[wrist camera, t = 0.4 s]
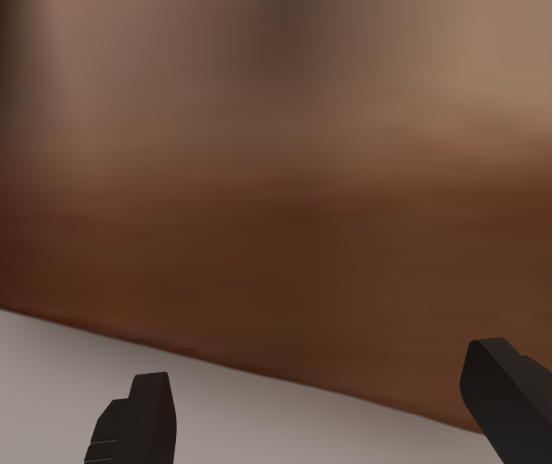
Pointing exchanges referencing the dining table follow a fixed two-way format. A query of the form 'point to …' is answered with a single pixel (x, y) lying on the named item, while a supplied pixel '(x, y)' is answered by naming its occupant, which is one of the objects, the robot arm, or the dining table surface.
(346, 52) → the dining table surface
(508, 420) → the robot arm
